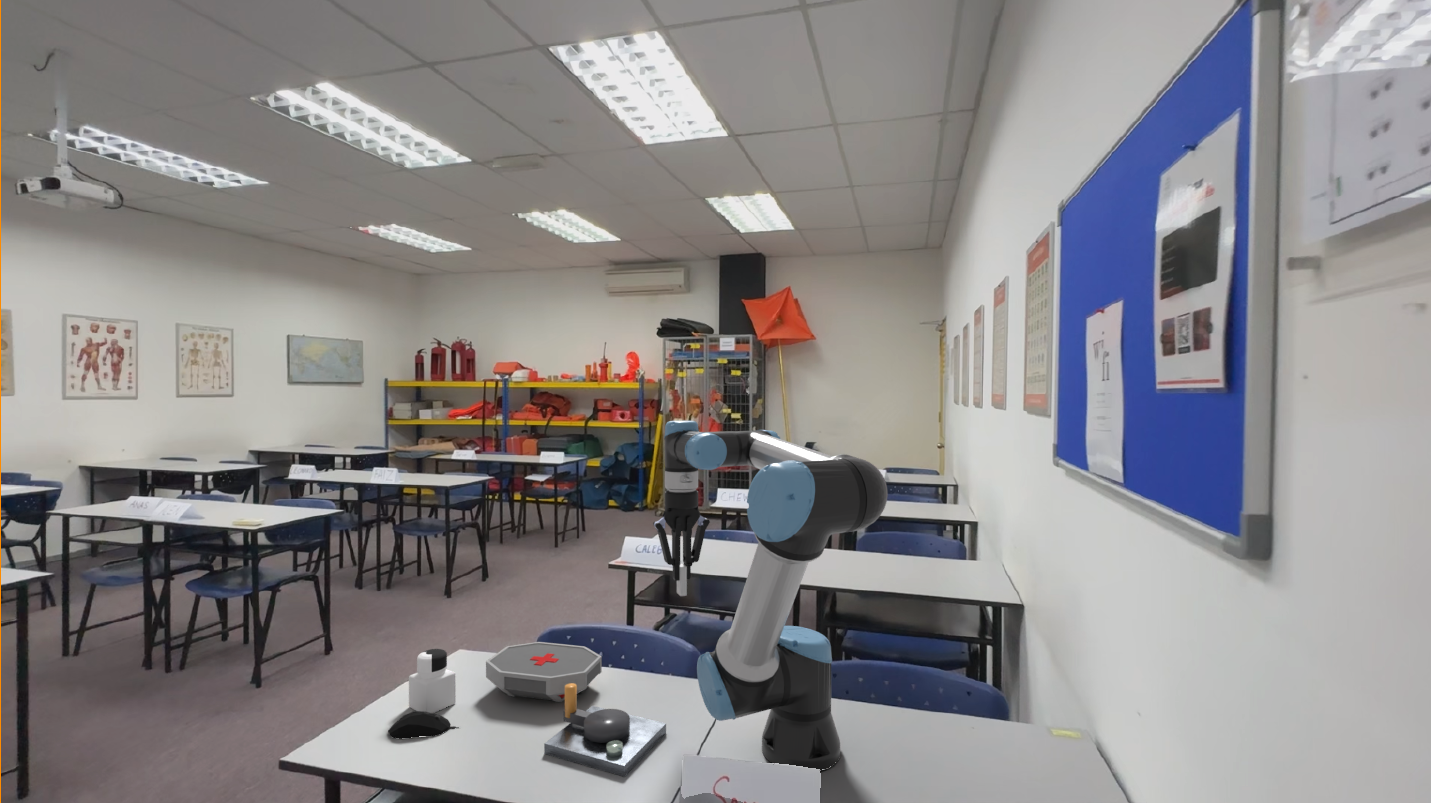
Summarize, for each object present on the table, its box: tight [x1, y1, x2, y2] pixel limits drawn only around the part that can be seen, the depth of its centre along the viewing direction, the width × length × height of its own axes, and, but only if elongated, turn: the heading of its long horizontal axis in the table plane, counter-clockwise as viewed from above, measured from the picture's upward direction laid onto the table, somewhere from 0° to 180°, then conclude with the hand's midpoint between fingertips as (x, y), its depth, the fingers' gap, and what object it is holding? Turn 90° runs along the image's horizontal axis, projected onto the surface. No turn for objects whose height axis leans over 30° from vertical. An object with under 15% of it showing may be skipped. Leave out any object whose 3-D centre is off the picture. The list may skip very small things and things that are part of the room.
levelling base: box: [543, 705, 667, 778], centre depth 125 cm, size 18×16×3 cm
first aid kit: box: [485, 641, 603, 703], centre depth 147 cm, size 18×8×25 cm
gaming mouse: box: [387, 710, 460, 740], centre depth 130 cm, size 6×15×4 cm, turn 96°
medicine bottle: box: [408, 648, 457, 714], centre depth 140 cm, size 7×7×12 cm
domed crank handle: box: [563, 683, 630, 743], centre depth 126 cm, size 15×9×7 cm, turn 64°
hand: (681, 593), depth 142 cm, fingers closed
